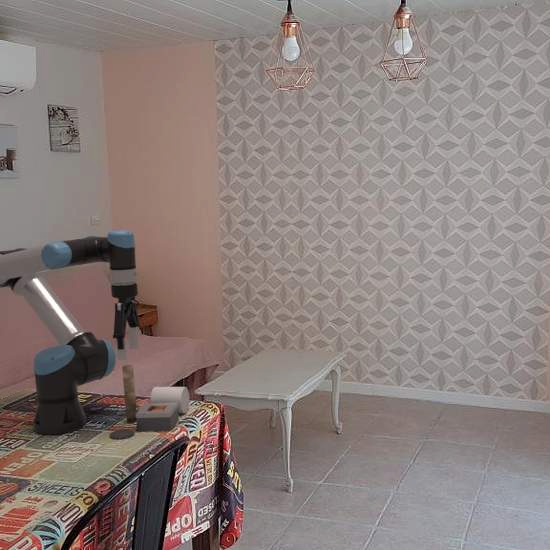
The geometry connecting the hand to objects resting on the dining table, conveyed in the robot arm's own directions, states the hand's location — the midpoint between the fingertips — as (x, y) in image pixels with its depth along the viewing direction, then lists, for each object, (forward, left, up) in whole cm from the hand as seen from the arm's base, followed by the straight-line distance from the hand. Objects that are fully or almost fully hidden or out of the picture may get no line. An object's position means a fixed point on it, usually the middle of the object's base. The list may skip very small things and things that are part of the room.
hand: (128, 354), depth 223 cm
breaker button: (+9, -5, -18) cm, 21 cm away
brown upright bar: (0, -1, -21) cm, 21 cm away
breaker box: (+9, -5, -21) cm, 23 cm away
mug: (+10, +10, -21) cm, 25 cm away
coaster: (0, -13, -21) cm, 24 cm away
